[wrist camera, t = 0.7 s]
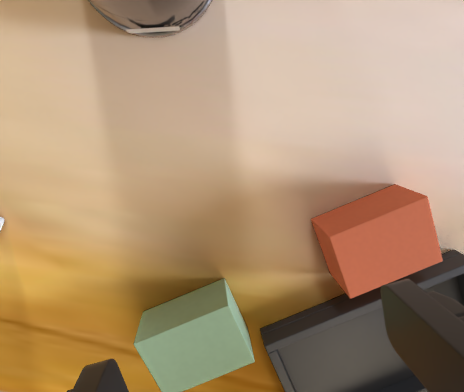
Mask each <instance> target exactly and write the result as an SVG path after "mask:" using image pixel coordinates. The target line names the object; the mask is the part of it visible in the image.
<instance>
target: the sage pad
mask: <svg viewBox="0 0 464 392" xmlns="http://www.w3.org/2000/svg"><path fill="white" fill-rule="evenodd" d="M134 346H135V348H136V349H137V351H138V353H139V354H140V356H141V358H142V359H143V361H144V363H145V365H146V366H147V368H148V370H149V371H150V373H151V375H152V376H153V378H154V380H155V381H156V383H157V385H158V386H159V388H160V390H161V391H162V392H183V391H185V390H187V389H190V388H192V387H195V386H197V385H200V384H202V383H205V382H207V381H210V380H212V379H214V378H217V377H219V376H222V375H224V374H227V373H229V372H232V371H234V370H236V369H239V368H241V367H244V366H246V365H249V364H251V363H254V362H255V360H254V355H253V351H252V346H251V341H250V336H249V332H248V328H247V326H246V324H245V321H244V319H243V317H242V315H241V313H240V311H239V308H238V306H237V304H236V302H235V300H234V298H233V295H232V293H231V291H230V289H229V287H228V285H227V282H226V280H225V278H224V279H221V280H219V281H216V282H214V283H212V284H209V285H207V286H204V287H202V288H199V289H197V290H195V291H192V292H190V293H187V294H185V295H182V296H180V297H178V298H175V299H173V300H170V301H168V302H166V303H163V304H161V305H158V306H156V307H153V308H151V309H149V310H146V311H144V312H143V314H142V317H141V320H140V324H139V327H138V331H137V334H136V337H135V341H134Z"/></svg>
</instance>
